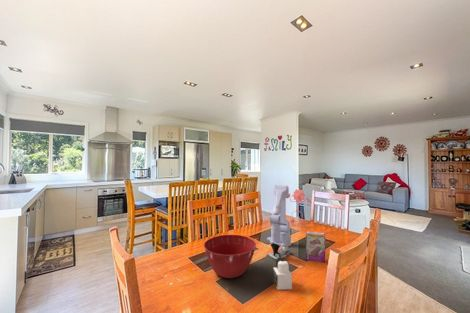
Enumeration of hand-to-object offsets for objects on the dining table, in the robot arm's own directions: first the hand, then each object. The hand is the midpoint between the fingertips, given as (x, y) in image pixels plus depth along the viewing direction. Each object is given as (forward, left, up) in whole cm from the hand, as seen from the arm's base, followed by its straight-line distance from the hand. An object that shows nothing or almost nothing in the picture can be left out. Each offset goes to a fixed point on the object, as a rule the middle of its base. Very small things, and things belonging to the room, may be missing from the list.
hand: (275, 255), depth 131 cm
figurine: (-69, -44, -2) cm, 81 cm away
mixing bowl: (+33, 0, -2) cm, 33 cm away
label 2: (-5, -2, -1) cm, 6 cm away
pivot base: (-10, -2, -2) cm, 10 cm away
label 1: (-1, -2, -1) cm, 2 cm away
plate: (-2, -2, -2) cm, 3 cm away
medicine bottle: (+17, +24, -2) cm, 30 cm away
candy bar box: (-20, +14, -2) cm, 24 cm away
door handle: (-5, 0, 0) cm, 5 cm away
